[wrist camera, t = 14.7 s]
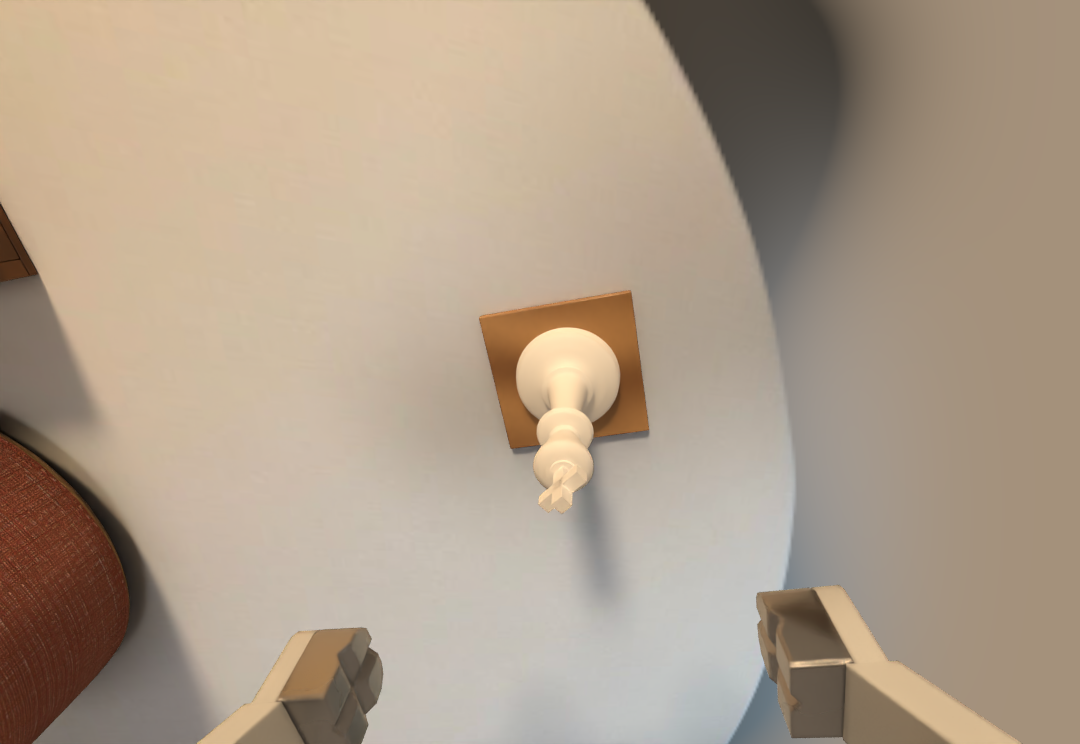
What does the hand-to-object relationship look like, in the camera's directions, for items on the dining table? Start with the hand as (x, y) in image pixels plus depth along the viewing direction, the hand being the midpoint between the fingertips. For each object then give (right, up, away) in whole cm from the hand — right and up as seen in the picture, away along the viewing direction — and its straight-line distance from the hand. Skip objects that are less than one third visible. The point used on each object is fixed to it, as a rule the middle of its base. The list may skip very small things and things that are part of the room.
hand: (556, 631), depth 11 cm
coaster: (+1, +5, +14) cm, 15 cm away
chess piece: (+1, +5, +14) cm, 15 cm away
